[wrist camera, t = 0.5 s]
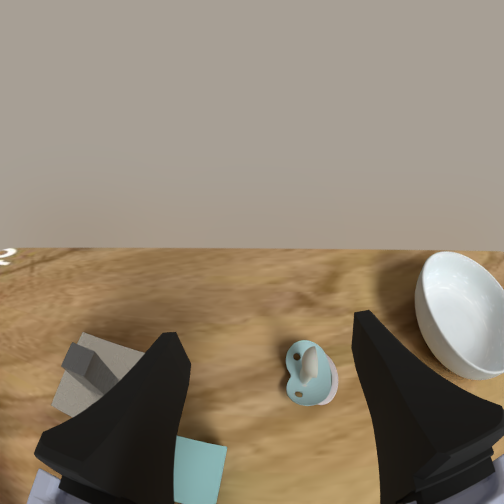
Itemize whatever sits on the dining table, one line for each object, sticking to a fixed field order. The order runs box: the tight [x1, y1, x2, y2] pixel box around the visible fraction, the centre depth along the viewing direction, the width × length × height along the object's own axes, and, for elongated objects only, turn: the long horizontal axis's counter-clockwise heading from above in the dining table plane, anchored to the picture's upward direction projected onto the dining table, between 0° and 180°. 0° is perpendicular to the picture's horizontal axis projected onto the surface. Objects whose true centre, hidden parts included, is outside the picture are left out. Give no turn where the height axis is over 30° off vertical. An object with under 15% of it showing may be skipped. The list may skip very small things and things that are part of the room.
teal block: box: [174, 436, 227, 504], centre depth 17 cm, size 5×5×7 cm
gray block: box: [51, 332, 145, 417], centre depth 21 cm, size 10×10×7 cm
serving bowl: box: [415, 251, 504, 380], centre depth 30 cm, size 21×21×7 cm
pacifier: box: [286, 340, 338, 406], centre depth 25 cm, size 7×6×6 cm
